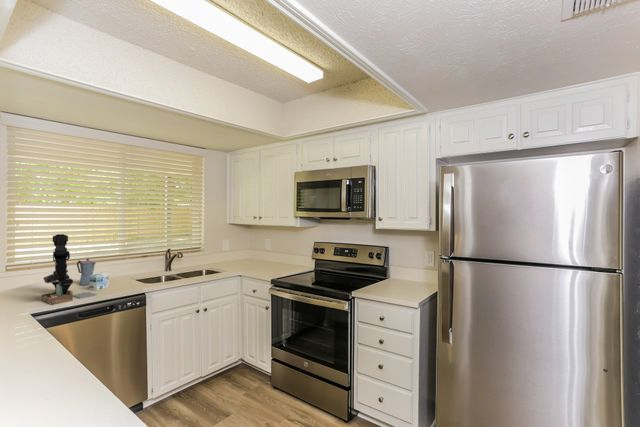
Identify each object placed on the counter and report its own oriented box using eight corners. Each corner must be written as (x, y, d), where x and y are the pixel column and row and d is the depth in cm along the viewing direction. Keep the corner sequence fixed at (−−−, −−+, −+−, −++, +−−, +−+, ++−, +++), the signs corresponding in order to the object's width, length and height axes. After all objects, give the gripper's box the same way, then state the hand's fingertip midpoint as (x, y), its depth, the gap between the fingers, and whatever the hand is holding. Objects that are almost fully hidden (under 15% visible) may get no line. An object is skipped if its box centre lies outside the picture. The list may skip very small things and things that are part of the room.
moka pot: (91, 285, 245) (91, 259, 245) (71, 285, 245) (71, 259, 245) (100, 283, 254) (100, 257, 254) (80, 283, 255) (80, 257, 254)
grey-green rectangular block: (56, 300, 206) (56, 284, 206) (61, 298, 209) (61, 283, 209) (60, 301, 203) (59, 285, 203) (65, 300, 206) (65, 284, 206)
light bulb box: (96, 290, 231) (96, 275, 231) (89, 290, 232) (89, 275, 232) (109, 287, 241) (109, 272, 241) (101, 286, 243) (101, 272, 243)
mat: (71, 295, 216) (71, 295, 216) (88, 292, 225) (88, 292, 225) (79, 298, 210) (79, 297, 210) (97, 295, 218) (97, 294, 218)
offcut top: (50, 298, 205) (50, 295, 205) (55, 297, 207) (55, 294, 207) (51, 300, 199) (51, 297, 199) (57, 299, 201) (57, 296, 201)
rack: (41, 300, 204) (41, 291, 204) (61, 297, 213) (61, 288, 213) (52, 304, 196) (52, 294, 196) (72, 300, 205) (72, 291, 205)
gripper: (39, 269, 204) (39, 294, 204) (51, 272, 194) (51, 298, 194) (60, 267, 213) (60, 290, 214) (73, 269, 204) (73, 294, 204)
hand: (61, 293), depth 206 cm, fingers open, 9 cm apart
